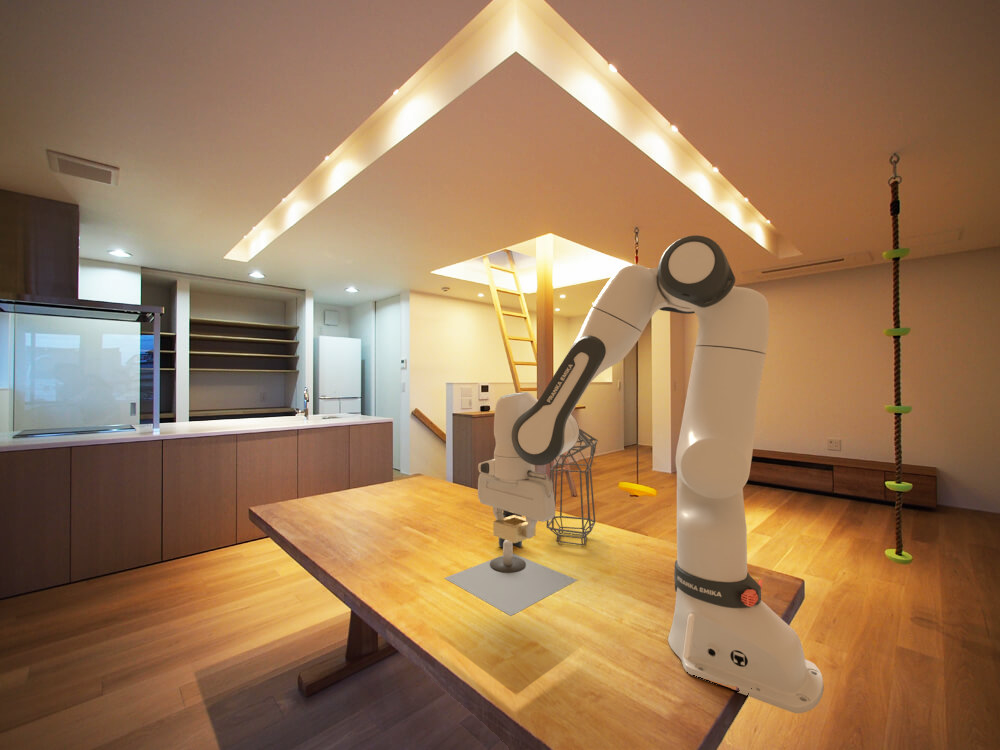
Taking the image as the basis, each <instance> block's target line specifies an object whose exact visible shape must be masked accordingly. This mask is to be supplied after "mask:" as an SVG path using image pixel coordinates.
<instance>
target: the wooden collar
mask: <svg viewBox="0 0 1000 750" xmlns="http://www.w3.org/2000/svg"><path fill="white" fill-rule="evenodd" d="M492 523H493V527H492V528H493V531H492V532H493V533H492V534H493V536H495V537H496V538H497V537H498V539H499V538H502V539H505V540H507V541H510V542H513V543H517V542H520V541H522V542H523V541H524V540H525V541H526V540H527V539H528V538H525V537H523V528H526V527H527V524H528V522H526V517H524V516H522V517H519V516H516V515H512V516H509V517H506V518H502V519H499V520H496V519H495V520H493V522H492ZM536 526H537V524H536V525H535V527H534V529H533V537H535V536H536V534H537V533H536V529H537V528H536Z"/></svg>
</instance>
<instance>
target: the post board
mask: <svg viewBox="0 0 1000 750" xmlns="http://www.w3.org/2000/svg"><path fill="white" fill-rule="evenodd" d="M513 548H514V546H513V543H512V542H510V541H507V540H505V541H504V543H503V548H502V555H500V556H498V557H495V558H493V559H490V560H487V561H485V562H481V563H480V564H477V565H474V566H472V567H469V568H466V569H464V570H461V571H459V572H455V573H454V574H452V575H448V576H446V577H444V580H447V581H448V582H450V583H451V584H453V585H455V586H457V587H459V588H461V589H463V590H464V591H466V592H468V593H469V594H471V595H473V596H475V597H476V598H478V599H480V600H482V601H484V602H485V603H487V604H489V605H491V606H492V607H494V608H495V609H498V610H499V611H501V612H503V613H504V614H507V615H509V616H510V617H512V616H514V615H516V614H517V613H519V612H521V611H523V610H525V609H527V608H529V607H531V606H533V605H534V604H536V603H538V602H540V601H542V600H544V599H545V598H547V597H549V596H551V595H553V594H555V593H556V592H559V591H561V590H562V589H564V588H566V587H567V586H569V585H571V584H573V583H575V582H577V581H578V579H577V578H575V577H572V576H570V575H567V574H565V573H562V572H559V571H557V570H554V569H552V568H550V567H547V566H545V565H543V564H540V563H538V562H535V561H532V560H530V559H528V558H526V557H524V556H520V555H518V554H515V553H514V551H513Z"/></svg>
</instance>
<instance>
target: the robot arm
mask: <svg viewBox="0 0 1000 750" xmlns="http://www.w3.org/2000/svg"><path fill="white" fill-rule="evenodd" d="M735 283H736V276H735V274H734V272H733V270H732V268H731V265H730V263H729V261H728V258H727V256H726V253H725V251H723V249H722V247H721V246H720V245H719V244H718V243H717V242H716V241H714V240H713V239H712V238H709V237H707V236H704V235H694V234H693V235H689V236H688V235H687V236H684V237H682V238H680V239H677V240H676V241H674V242H673V243H672V244H670V245H669V246H668V247H667V248H666V250H664V252H663V253H662V255H661V257H660V260H659V262H658V266H657V267H655V268H651V267H647V266H644V265H641V264H636V263H634V264H633V263H629V264H625V265H622V266H620V268H618V269H617V270H616V271H615V273H613V275H611V277H610V279H608V281H607V282H606V284H605V285H604V286H603V288H602V290H601V291H600V292H599V293H598V296H597V297H596V299H595V300H594V302H593V304H592V305H591V307H590V309H589V311H588V313H587V315H586V317H585V318H584V320H583V322H582V324H581V327H580V329H579V331H578V333H577V334H576V337H575V339H574V340H573V343H572V345H571V346H570V348H569V349H568V350H569V351H568V353H567V354H566V355H565V357H564V359H563V360H562V361H561V364H560V365H559V367H558V369H557V370H556V371H555V373H554V374H553V377H552V378H551V379H550V382H548V384H547V386H546V388H545V390H544V391H543V392H542V393H541V396H540V397H539V399H537V397H535V396H533V394H531V393H530V392H528V391H527V392H516V393H509V394H506V395H502V396H500V398H498V399H497V402H496V404H495V409H494V419H493V436H494V439H495V440H494V441H495V447H494V451H493V458H492V459H489V460H485V461H483V462H480V463H478V465H477V470H478V472H479V475H478V478H477V497H478V500H479V502H480V504H482V505H485V506H489V507H492V512H493V516H494V518H495V521H496V520H499V519H502V518H504V515H503V511H504V510H505V511H508V512H511V513H515V514H518V515H521V516H522V517H524V518H526V522H528V524H527V527H526V528H523V537H525V538H528V539H533V537H534V536H533V529H534V527H535V525H536V526H537V523H538V522H542V523H543V522H545V523H546V522H547V521H548V520H549V521H551V520H552V518H553V517H554V516H556V508H555V500H554V495H555V492H554V493H553V483H552V478H551V479H550V476H548V474H546V473H544V472H538V471H536V469H535V467H536V466H545V465H548V464H549V463H550V462H551V463H552V462H553V461H554V460H555V458H556V459H557V458H558V457H560V456H559V455H564V454H565V453H566V452H568V451H569V450H570V449H571V448H572V447H573V446H576V444H577V443H578V442H577V441H579V439H578V438H579V428H580V426H579V425H580V424H579V423H578V421H577V419H576V418H575V416H574V414H572V413H573V412H574V410H575V408H576V406H578V403H579V401H580V400H581V399H582V397H583V395H584V394H585V392H586V391H587V389H588V387H589V386H590V384H591V383H592V382H593V381H594V380H595V379H596V378H597V377H598V376H599V375H600V374H601V373H603V372H604V371H606V370H608V369H609V368H612V367H613V366H615V365H617V364H619V363H621V362H622V360H624V359H625V358H626V356H628V354H629V353H630V352H631V350H632V349H633V348H634V347H635V345H636V344H637V342H638V341H639V339H640V338H641V336H642V334H643V332H644V331H645V328H646V327H647V326H648V324H649V322H650V320H651V319H652V318H653V316H654V315H655V313H656V312H658V311H663V312H671V313H672V312H673V313H676V314H678V313H679V314H682V315H683V314H685V315H687V314H688V315H689V314H690V315H691V314H695V315H696V317H697V320H698V330H697V336H696V342H695V347H694V351H693V357H692V362H691V367H690V374H689V379H688V385H687V390H686V396H685V403H684V408H683V413H682V414H683V415H682V418H681V425H680V432H679V437H678V442H677V444H676V445H677V446H676V451H675V453H676V454H675V469H676V560H675V562H674V570H673V571H674V572H673V581H674V591H675V594H676V595H675V604H674V613H673V618H672V624H671V627H670V631H669V634H668V638H667V640H668V645H669V646H670V648H671V650H672V651H673V652H674V653H675V655H676V656H677V657H678V658H679V659H680V660H681V663H682V666H683V669H684V670H685V672H686V673H687V672H688V673H687V674H689V675H690V676H693V675H695V676H694V677H696V676H697V677H696V678H698V677H701V678H704V679H708V680H711V681H714V682H718V683H722V684H724V685H730V686H737V687H738V688H739V690H740V691H739V692H738V694H742V695H744V696H747V695H748V693H749V695H748V696H747V697H749V698H752V699H754V700H758V701H761V702H763V703H766V704H769V705H771V706H774V707H776V708H779V709H782V710H785V711H787V712H790V713H794V714H803V713H807V712H809V711H812V710H813V709H815V708H816V707H817V706H818V705H819V703H820V701H821V699H822V698H823V694H824V689H825V688H824V687H825V685H824V678H823V674H822V672H821V670H820V669H819V667H818V666H817V665H816V664H815V663H814V662H812V661H810V660H808V659H807V658H806V657H805V653H804V649H803V645H802V642H801V639H800V637H799V635H798V634H797V631H795V629H794V628H792V627H791V626H790V625H789V624H788V623H786V621H785V620H784V619H782V618H781V617H780V616H779V615H778V614H777V613H776V612H775V611H773V609H771V608H770V607H769V606H768V605H767V604H766V603H765V602H764V601H763V600H762V588H763V579H760V580H759V581H758V582H757V581H756V580H755V579H754V578H753V577H752V575H750V573H749V571H748V543H747V542H748V541H747V540H748V539H747V536H748V533H747V523H746V513H745V502H744V501H745V500H744V490H743V489H744V487H745V485H746V484H747V482H748V480H749V477H750V474H751V473H750V472H751V465H752V461H753V460H752V459H753V451H754V443H755V435H756V424H757V423H756V422H757V412H758V411H757V410H758V400H759V395H760V389H761V385H762V384H761V383H762V377H763V372H764V368H765V367H764V366H765V361H766V355H767V350H768V346H769V345H768V343H769V333H770V308H769V307H770V305H769V302H768V300H767V298H766V297H765V295H763V294H762V293H761V292H759V291H757V290H756V289H752V288H749V287H742V286H735ZM701 678H700V679H701ZM704 679H703V680H704ZM751 688H752V689H751Z"/></svg>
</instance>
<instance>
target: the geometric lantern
mask: <svg viewBox="0 0 1000 750" xmlns="http://www.w3.org/2000/svg"><path fill="white" fill-rule="evenodd" d="M593 441H594V442H593ZM598 442H599V440H598V439H597V438H595V437H593V436H592V435H590V434H588V433H587V432H586V431H584V430H583V429H581V428H580V427H579V438H578V440H577V442H576V443H579V445H574V446H573V447H572V448H571V449H570V450H568V451H567V453H566V454H561V455H559V456H558V457H559V459H558V460H557V458H555V459H554V460H555V462H556V463H554V464H553V465H552V462H550V463H548V464H549V478H550V479H551V481H552V483H553V493H554V500H555V509H556V507H557V505H556V504H557V486H558V483H557V482H558V472H560V505H559V506H560V508H559V515H557V516H556V515H555V516H554V517H553V518H552V519H551V520H548V521H546V528H547V529H549V530H550V531H551V532H552V533H553V534H554V535H555V536H556V542H558V543H561V544H562V543H563V544H569V545H576V546H577V545H578V546H585V545H586V544H587V538H588V535H589V534H590V533H592V531H593V528H594V527H595V524H596V512H595V500H594V487H593V478H592V466H593V461H594V456H595V454H596V449H597V448H596V447H597V444H598ZM582 443H584V444H583V445H582ZM589 447H590V455H589V459H588V461H587V460H586V458H585V456H584V454H583V452H582V451H583V450H586V449H588V448H589ZM571 451H574V452H572V453H571ZM578 453H580V454H581V457H582V459H583V460H584V462H585V464H584V463H583V464H582V463H581V464H580V463H577V461H576V460H575V457H574V455H576V454H578ZM568 457H571V459H572V461H573V462H574V463H565V461H566V459H567V458H568ZM561 458H563V460H562V461H561V462H560V460H561ZM559 462H560V463H559ZM564 465H565V466H566V465H567V466H576V467H577V469H578V470H571V469H570V470H569V469H564V468H563V467H564ZM558 466H561V467H560V468H561V469H559V467H558ZM580 466H581V467H582V466H585V467H586V468H585V470H582V469H581V468H580ZM554 472H555V473H554ZM563 472H566V473H567V472H568V473H569V472H570V473H579V489H580V491H579V492H580V493H579V494H580V510H581V516H580V517H578V516H577V517H576V516H566V515H563V513H562V512H563V511H562V510H563V480H564V479H563V478H564V476H563V474H564V473H563ZM582 474H584V475H585V476H584V477H585V490H586V500H587V502H586V503H587V504H586V505H587V517H584V503H583V501H584V499H583V481H582V480H583V478H582ZM554 480H555V481H554ZM590 493H591V504H592V515H593V517H592V518H591V509H590ZM557 519H559V520H560V524H561V525H560V524H559V523H558V521H557ZM562 519H572V520H573V519H574V520H581V527H571V526H563V520H562ZM585 520H586V523H584V522H585ZM555 523H556V524H557V526H558V528H556V527H555V526H554V525H555ZM587 524H588V526H587ZM571 529H573V530H571ZM577 530H578V531H577ZM579 530H581V531H579ZM563 534H564V535H563ZM571 534H572V535H571ZM561 537H562V538H563V537H564V538H573V539H581V541H580V542H581V543H578V542H577V543H576V542H570V541H569V542H568V541H564V540H563V541H562V540H561Z"/></svg>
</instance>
